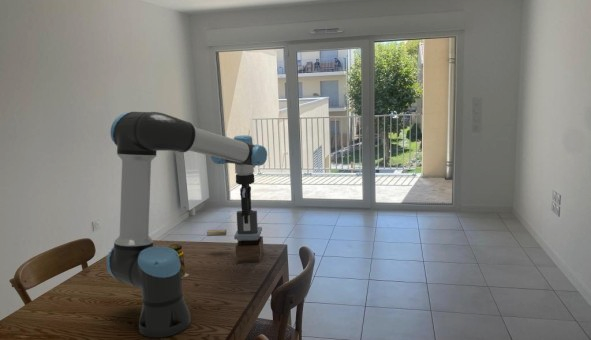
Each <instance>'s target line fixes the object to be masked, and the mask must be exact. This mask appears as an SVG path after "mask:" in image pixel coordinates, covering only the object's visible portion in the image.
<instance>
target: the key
mask: <svg viewBox="0 0 591 340" xmlns="http://www.w3.org/2000/svg"><path fill="white" fill-rule="evenodd" d="M227 235H228V234H227V229H207V231H206V236H207V237H220V236H221V237H224V236H225V237H226V236H227Z"/></svg>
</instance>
